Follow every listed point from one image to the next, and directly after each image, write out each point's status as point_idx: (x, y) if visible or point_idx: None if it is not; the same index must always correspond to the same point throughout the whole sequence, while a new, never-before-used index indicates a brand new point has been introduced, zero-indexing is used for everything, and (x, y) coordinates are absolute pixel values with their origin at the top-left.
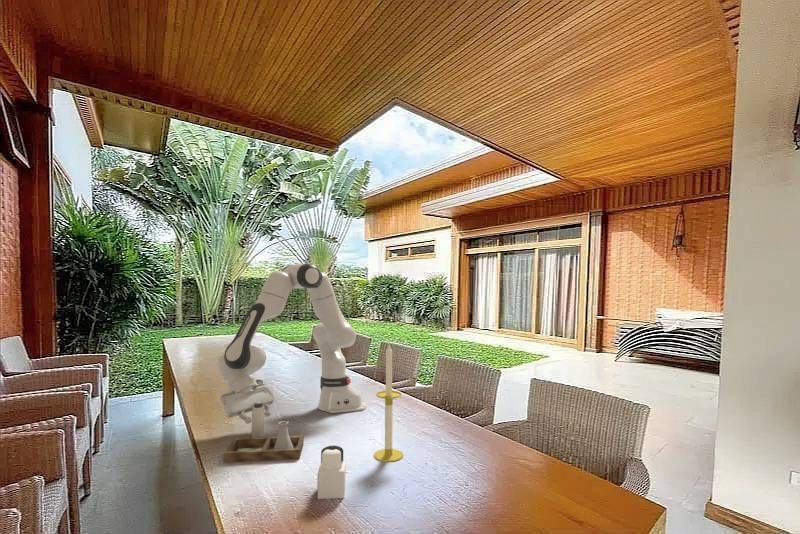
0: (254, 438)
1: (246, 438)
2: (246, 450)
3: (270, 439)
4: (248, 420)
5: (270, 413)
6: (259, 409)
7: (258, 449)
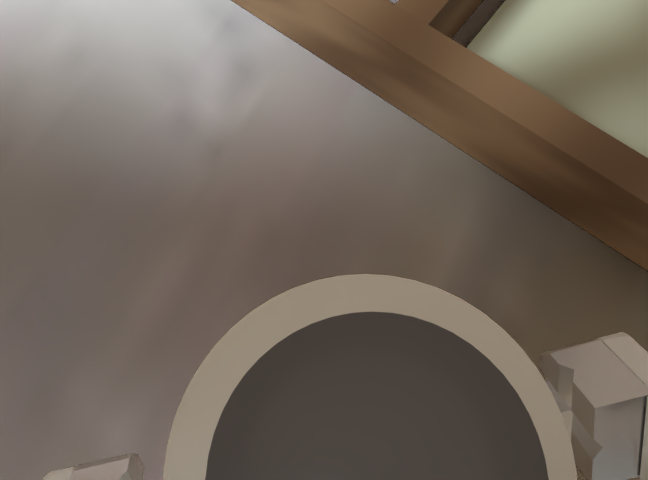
0: (547, 117)
1: (630, 182)
2: (622, 117)
3: (401, 2)
4: (627, 334)
5: (46, 476)
6: (408, 288)
7: (514, 64)
